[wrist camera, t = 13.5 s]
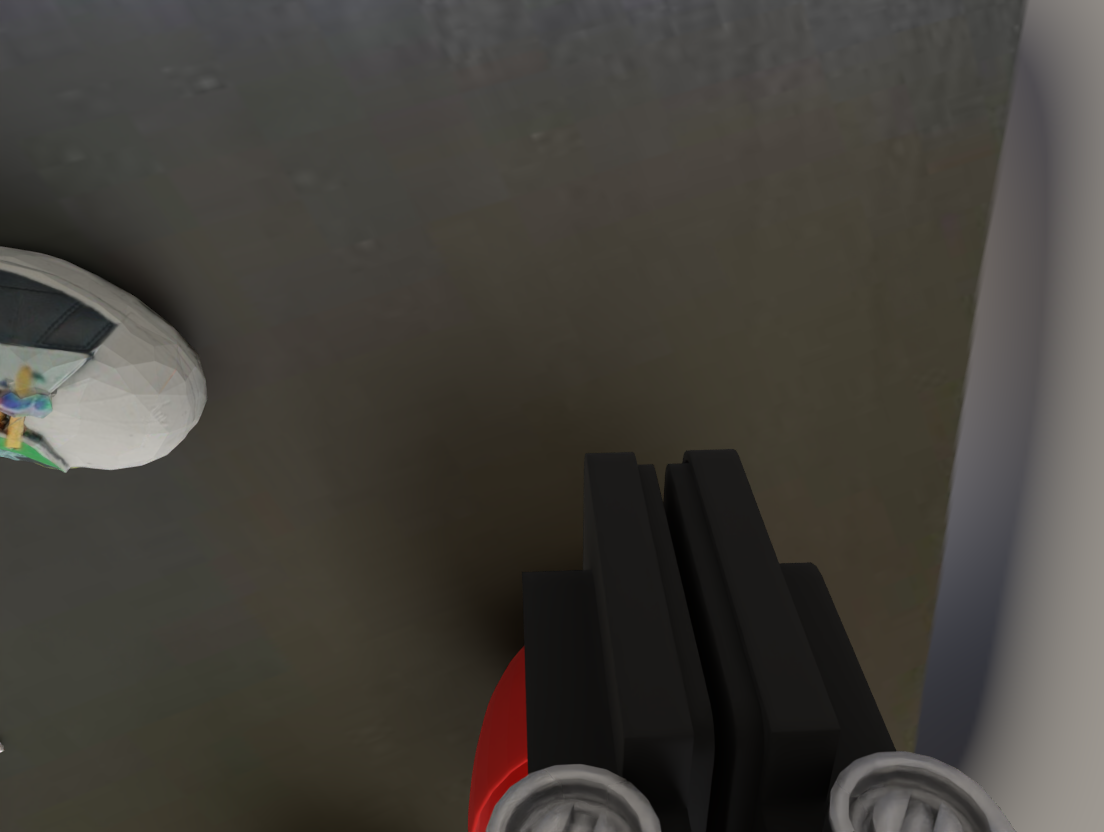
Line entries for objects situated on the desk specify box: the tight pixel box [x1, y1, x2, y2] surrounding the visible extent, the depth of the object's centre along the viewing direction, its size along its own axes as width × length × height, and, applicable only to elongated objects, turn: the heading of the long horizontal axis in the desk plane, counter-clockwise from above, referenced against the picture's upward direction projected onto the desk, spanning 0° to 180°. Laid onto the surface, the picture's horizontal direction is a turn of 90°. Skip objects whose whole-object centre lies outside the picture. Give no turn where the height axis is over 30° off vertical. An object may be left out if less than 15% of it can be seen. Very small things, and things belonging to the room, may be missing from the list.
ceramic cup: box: [468, 646, 528, 832], centre depth 42 cm, size 13×17×10 cm
